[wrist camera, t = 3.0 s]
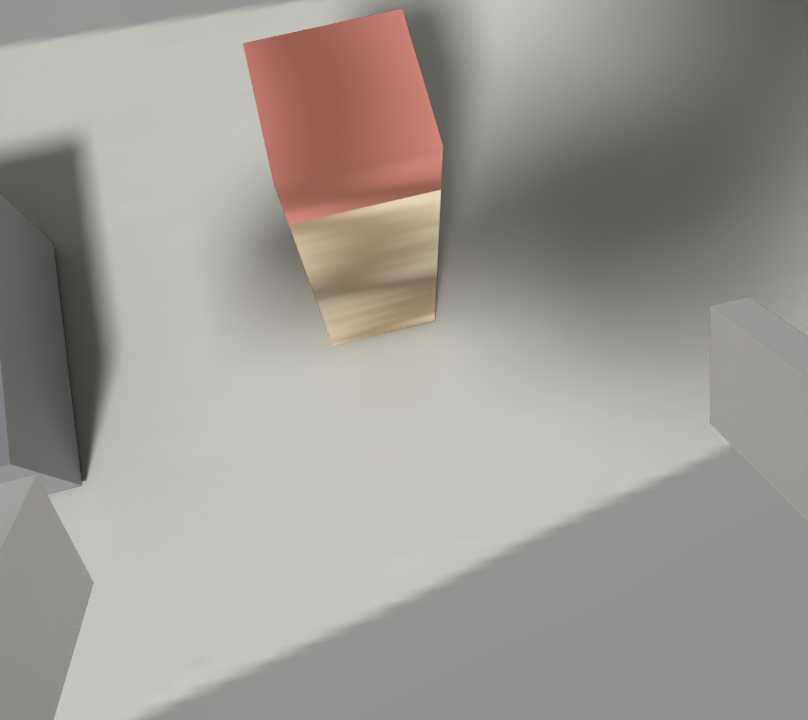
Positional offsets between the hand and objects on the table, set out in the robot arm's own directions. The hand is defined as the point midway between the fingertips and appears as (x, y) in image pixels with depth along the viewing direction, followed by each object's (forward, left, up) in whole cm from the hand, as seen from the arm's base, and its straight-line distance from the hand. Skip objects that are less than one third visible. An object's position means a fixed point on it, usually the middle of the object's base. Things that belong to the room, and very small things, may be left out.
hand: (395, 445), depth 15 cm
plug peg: (-1, -9, -13) cm, 15 cm away
